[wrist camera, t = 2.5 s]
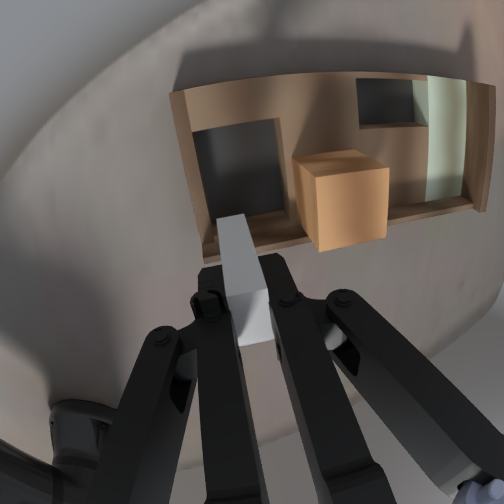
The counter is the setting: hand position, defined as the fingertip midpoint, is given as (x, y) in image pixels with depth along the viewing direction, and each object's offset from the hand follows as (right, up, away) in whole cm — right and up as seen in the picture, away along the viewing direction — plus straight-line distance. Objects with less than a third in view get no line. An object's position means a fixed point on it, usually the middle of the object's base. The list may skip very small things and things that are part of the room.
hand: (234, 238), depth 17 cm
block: (+7, +4, +6) cm, 10 cm away
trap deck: (+9, +8, +7) cm, 14 cm away
